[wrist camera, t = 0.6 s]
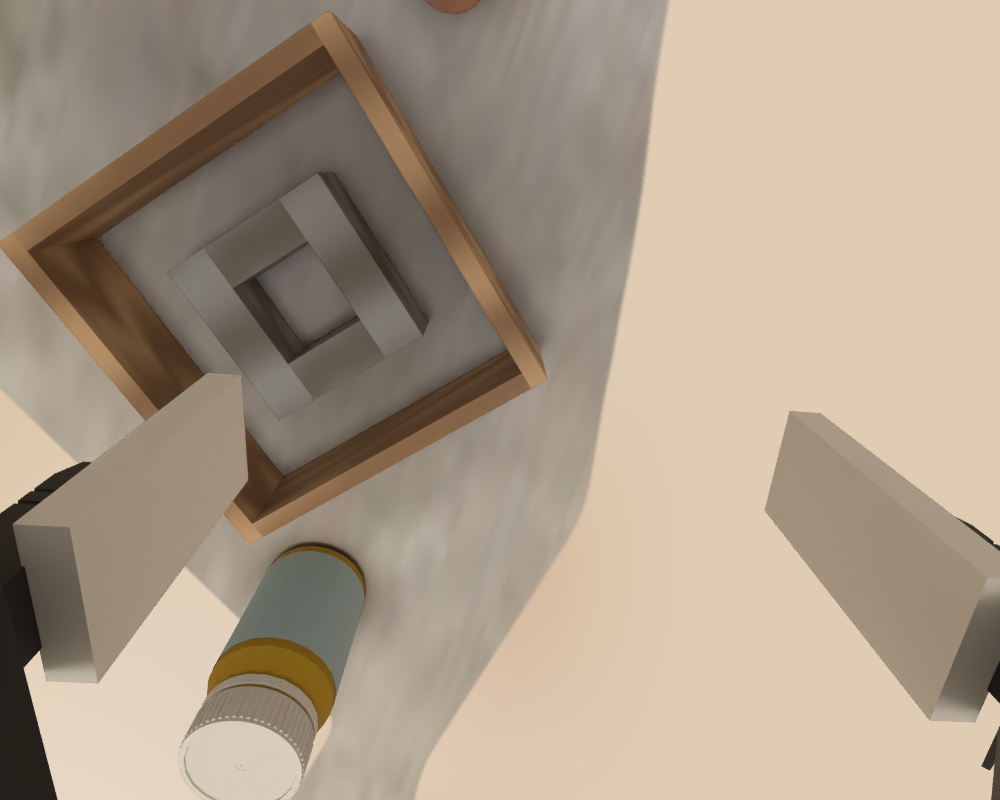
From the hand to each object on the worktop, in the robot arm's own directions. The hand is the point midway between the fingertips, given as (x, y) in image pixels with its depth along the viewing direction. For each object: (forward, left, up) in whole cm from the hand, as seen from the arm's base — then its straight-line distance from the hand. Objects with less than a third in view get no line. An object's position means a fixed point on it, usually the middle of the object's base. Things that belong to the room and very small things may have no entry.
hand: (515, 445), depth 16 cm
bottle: (+12, -22, -25) cm, 35 cm away
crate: (-5, -10, -25) cm, 27 cm away
